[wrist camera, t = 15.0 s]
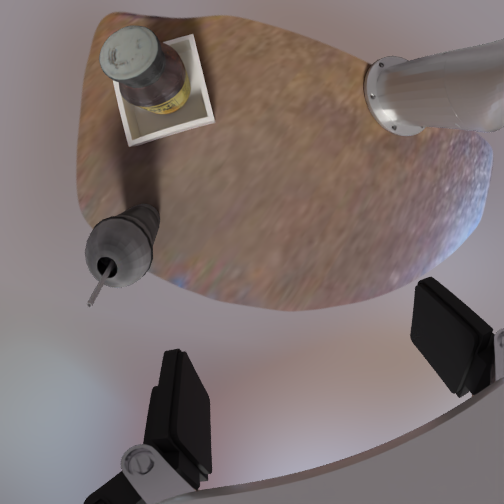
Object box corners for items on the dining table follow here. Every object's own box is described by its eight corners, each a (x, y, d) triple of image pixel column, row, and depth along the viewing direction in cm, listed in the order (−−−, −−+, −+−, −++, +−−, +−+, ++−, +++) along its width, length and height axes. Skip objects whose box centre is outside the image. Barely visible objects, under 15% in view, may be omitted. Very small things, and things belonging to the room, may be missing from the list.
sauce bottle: (137, 108, 32) (61, 86, 14) (155, 64, 30) (100, 5, 12) (183, 122, 33) (145, 107, 15) (202, 78, 31) (186, 20, 13)
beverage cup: (174, 199, 38) (136, 259, 19) (165, 249, 40) (130, 339, 22) (123, 189, 36) (49, 239, 18) (117, 238, 39) (54, 318, 20)
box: (196, 46, 30) (193, 33, 25) (215, 122, 34) (214, 120, 30) (121, 70, 30) (109, 61, 25) (139, 145, 34) (128, 146, 30)
